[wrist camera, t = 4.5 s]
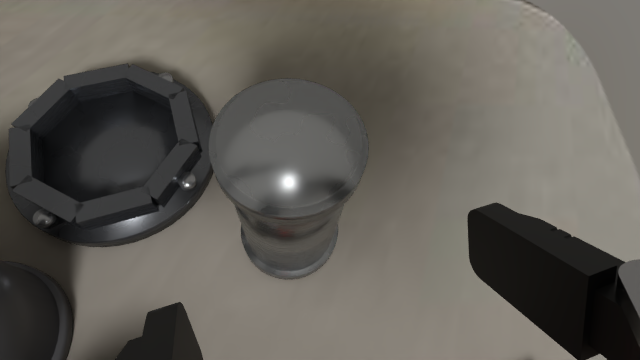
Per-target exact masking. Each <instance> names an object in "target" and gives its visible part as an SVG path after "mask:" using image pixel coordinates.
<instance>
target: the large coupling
mask: <svg viewBox="0 0 640 360" xmlns="http://www.w3.org/2000/svg"><path fill="white" fill-rule="evenodd" d="M72 332H73V318H72V310H71V307H70V303H69V300H68V298H67V296H66V294H65V292H64V291H63V289H62V288H61V286H60V285H59V284H58V283H57V282H56V281H55V280H54V279H53V278H51V277H50V276H49V275H47V274H46V273H44V272H42V271H39V270H37V269H35V268H32V267H30V266H27V265H24V264H20V263H16V262H9V261H0V360H66V358H67V355H68V352H69V348H70V344H71V339H72Z"/></svg>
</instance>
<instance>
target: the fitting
mask: <svg viewBox="0 0 640 360" xmlns="http://www.w3.org/2000/svg"><path fill="white" fill-rule="evenodd" d="M368 150H369V147H368V137H367V132H366V129H365V126H364V124H363V122H362V120H361V118H360V116H359V114H358V113H357V112H356V110H355V109H354V107H353V106H352V105H351V104H350V103H349V102H348V101H347V100H346V99H344V98H343V97H342V96H341V95H339V94H338V93H336V92H335V91H333V90H332V89H330V88H328V87H326V86H323V85H321V84H318V83H315V82H311V81H308V80H302V79H291V78H285V79H274V80H268V81H265V82H261V83H258V84H255V85H253V86H250V87H248V88H247V89H245V90H243V91H241V92H240V93H238V94H237V95H235V96H234V97H233V98H232V99H231V100H230V101H228V102H227V104H226V105H225V106H224V107H223V108H222V109H221V111H220V112H219V114H218V115H217V117H216V119H215V121H214V123H213V126H212V129H211V132H210V138H209V156H210V162H211V164H212V167H213V170H214V173H215V175H216V178H217V180H218V183H219V185H220V187H221V189H222V190H223V192H224V193H225V194H226V196H227V197H228V198H229V199H230V200H231V202H232V203H233V204H234V205H235V208H236V210H237V213H238V216H239V219H240V222H241V238H242V242H243V245H244V248H245V251H246V253H247V255H248V257H249V258H250V260H251V261H252V263H253V264H254V265H255V266H256V267H257V268H258V269H260V270H261V271H262V272H264V273H266V274H268V275H270V276H272V277H275V278H279V279H299V278H302V277H306V276H308V275H310V274H312V273H314V272H316V271H317V270H318V269H320V268H321V267H322V266H323V265H324V264H325V263H326V261H327V260H328V259H329V257H330V255H331V254H332V251H333V249H334V246H335V244H336V240H337V235H338V224H337V223H338V221H339V218H340V215H341V212H342V209H343V206H344V204H345V203H346V202H347V201H348V199H349V198H350V197H351V196H352V194H353V193H354V191H355V190H356V188H357V186H358V184H359V182H360V179H361V177H362V174H363V172H364V169H365V167H366V163H367V159H368Z"/></svg>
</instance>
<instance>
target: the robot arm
mask: <svg viewBox="0 0 640 360" xmlns="http://www.w3.org/2000/svg"><path fill="white" fill-rule="evenodd" d="M468 241H469V259H470V263H471V266H472V268H473V270H474V272H475V273H476V275H477V276H478V277H479V278H480V279H481V280H482V281H484V282H485V283H486V284H487V285H488V286H490V287H491V288H492V289H493V290H494V291H496V292H497V293H498V294H499V295H500V296H502V297H503V298H504V299H505V300H506V301H508V302H509V303H510V304H511V305H512V306H514V307H515V308H516V309H517V310H518V311H520V312H521V313H522V314H523V315H524V316H526V317H527V318H528V319H529V320H530V321H532V322H533V323H534V324H535V325H536V326H538V327H539V328H540V329H541V330H542V331H544V332H545V333H546V334H547V335H548V336H550V337H551V338H552V339H553V340H554V341H556V342H557V343H558V344H559V345H560V346H562V347H563V348H564V349H565V350H566V351H568V352H569V353H570V354H571V355H572V356H574V357H575V358H576V359H577V360H586V359H589V358H591V357H593V356H596V355H598V354H601V355H603V356H604V357H605V358H607V360H640V260H632V261H629V262H624V261H622V260H620V259H618V258H616V257H614V256H612V255H610V254H608V253H606V252H604V251H602V250H600V249H598V248H596V247H594V246H592V245H590V244H588V243H586V242H584V241H582V240H580V239H578V238H576V237H571V234H569V233H567V232H565V231H563V230H561V229H559V230H557V227H555V226H553V225H551V224H549V223H547V222H545V221H543V220H541V219H538V218H535V217H531V216H527V215H523V214H519V213H517V212H515V211H513V210H511V209H509V208H507V207H505V206H503V205H501V204H499V203H492V204H489V205H486V206H483V207H480V208H477V209H473V210H471V211H470V212H469V214H468ZM115 360H203V357H202V353H201V350H200V347H199V344H198V342H197V339H196V337H195V334H194V331H193V329H192V326H191V324H190V321H189V319H188V316H187V313H186V311H185V308H184V306H183V304H182V303H181V302H178V303H175V304H172V305H169V306H165V307H162V308H159V309H156V310H153V311H150V312H148V313H147V316H146V321H145V325H144V330H143V335H142V337H139V338H136V339H133V340H130V341H128V342H127V344H126V345H125V347H124V348H123V349H122V351H121V352H120V354H119V355H118V356H117V358H116V359H115Z"/></svg>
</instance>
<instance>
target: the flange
mask: <svg viewBox="0 0 640 360" xmlns="http://www.w3.org/2000/svg"><path fill="white" fill-rule="evenodd" d="M12 125H13V126H14V127H15V128H10V129H9V151H8V155H7V159H6V171H5V172H6V183H7V187H8V190H9V194H10V196H11V198H12V200H13V202H14V204H15V206H16V207H17V208H18V210H19V211H20V213H21V214H22V215H23V216H24V217H25V218H26V219H27V220H28V221H29V222H31V223H32V224H33V225H35V226H36V227H38V228H39V229H41V230H43V231H45V232H46V233H48V234H50V235H52V236H54V237H56V238H59V239H61V240H63V241H66V242H69V243H73V244H76V245H82V246H89V247H110V246H120V245H124V244H129V243H133V242H136V241H139V240H142V239H145V238H148V237H150V236H152V235H154V234H156V233H158V232H160V231H162V230H164V229H165V228H167V227H169V226H170V225H172V224H173V223H175V222H176V221H177V220H178V219H180V218H181V217H182V216H184V215H185V214H186V213H187V212H188V211H189V210H190V209H191V208H192V207H193V206H194V204H195V203H196V202H197V201H198V199H199V198H200V197H201V196H202V194H203V192H204V191H205V189H206V187H207V186H208V184H209V181H210V179H211V177H212V174H213V171H214V170H213V167H212V164H211V162H210V156H209V138H210V132H211V129H212V126H213V125H212V122H211V119H210V116H209V114H208V112H207V110H206V108H205V106H204V105H203V103H202V102H201V101H200V99H199V98H198V97H197V96H196V95H195V94H194V93H193V92H192V91H191V90H190V89H188V88H187V87H186V86H184V85H183V84H181V83H179V82H178V81H176V80H174V79H173V78H172V76H171V74H169V73H161V74H158V73H154V72H149V71H146V70H144V69H142V68H140V67H138V66H136V65H134V64H132V65H131V66H130V67H129V65H128V64H123V65H118V66H113V67H108V68H103V69H98V70H93V71H87V72H82V73H77V74H72V75H67V76H64V81H63V80H61V79H58V80H57V81H56V82H55V83H54V84H53V85H51V86H50V87H49V88H48V89H47V90H46V91H45V92H44V93H43V94H42V95H41V96H40V97H39V98H36V99H34V100H32V101H31V102H30V103H29V105H28V108H27V109H26V110H25V111H24V112H23V113H22V114H21V115H20V116H19V117H18V118H17V119H16V120H15V121H14V122H13V123H12Z"/></svg>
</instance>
